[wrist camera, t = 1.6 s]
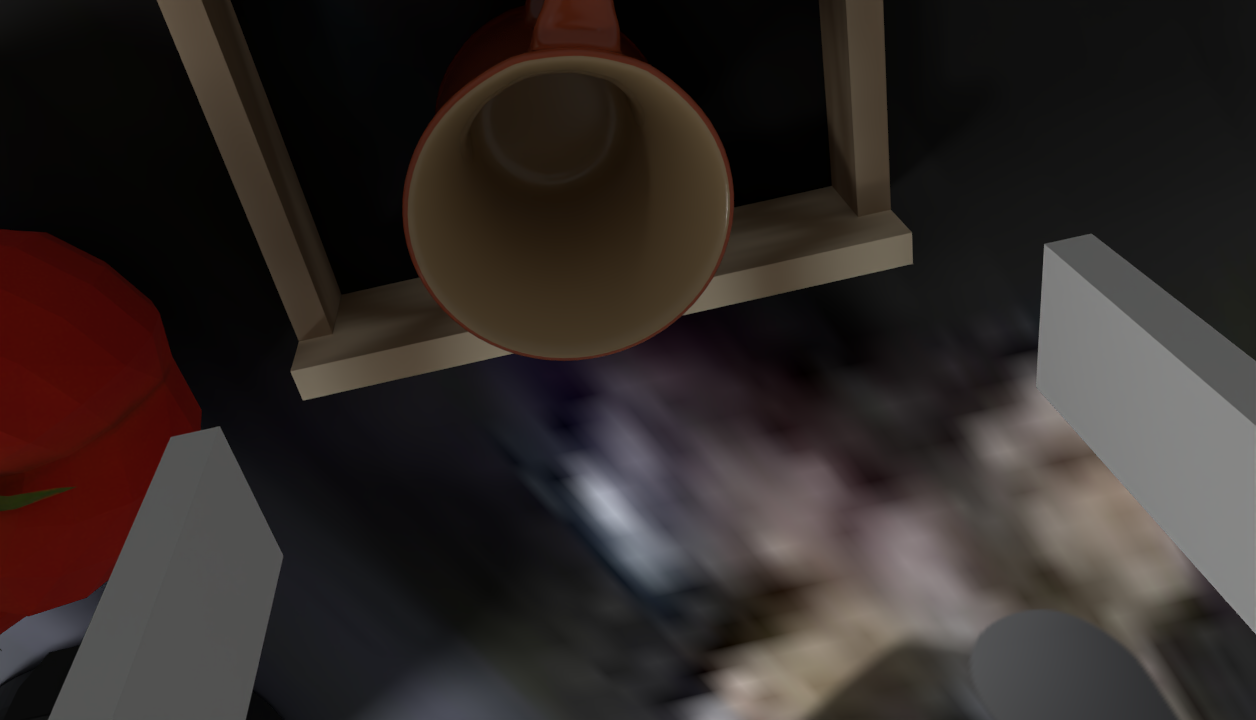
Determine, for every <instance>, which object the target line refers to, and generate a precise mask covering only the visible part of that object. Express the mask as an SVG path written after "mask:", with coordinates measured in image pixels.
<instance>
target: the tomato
mask: <svg viewBox="0 0 1256 720" xmlns="http://www.w3.org/2000/svg"><path fill="white" fill-rule="evenodd" d="M201 414H202V410H201V408H200V406H199V404H198V403H197V401H196V399H195V397H194V395H193V393H192V391H191V390H190V388H189V386H188V384H187V382H186V380H185V379H184V377H183V375H182V373H181V371H180V369H179V368H178V366H177V364H176V362H175V360H174V359H173V357H172V354H171V351H170V347H169V344H168V341H167V337H166V334H165V330H164V327H163V323H162V320H161V317H160V313H159V311H158V310H157V308H156V307H155V305H154V304H153V302H152V301H151V300H150V299H149V298H148V297H146V296H145V295H144V294H143V293H142V292H140V291H139V290H138V289H137V288H136V287H134V286H133V285H132V284H131V283H130V282H129V281H127V280H126V279H125V278H124V277H123V276H121V275H120V274H119V273H118V272H117V271H116V270H114V269H113V268H112V267H111V266H110V265H108V264H107V263H106V262H104V261H102V260H100V259H98V258H96V257H94V256H92V255H90V254H88V253H86V252H84V251H82V250H80V249H78V248H76V247H74V246H73V245H71V244H69V243H67V242H65V241H63V240H61V239H59V238H57V237H55V236H53V235H51V234H49V233H47V232H33V231H15V230H5V229H0V634H1V633H3V632H4V631H6V630H7V629H8V628H10V627H11V626H13V625H14V624H16V623H17V622H18V621H20V620H21V619H23V618H24V617H26V616H31V615H34V614H38V613H41V612H44V611H47V610H50V609H53V608H56V607H59V606H62V605H66V604H69V603H72V602H75V601H78V600H81V599H84V598H87V597H88V596H89V595H90V594H91V593H93V592H94V591H95V590H96V589H98V588H99V587H100V586H101V585H103V584H104V583H105V582H106V581H108V580H109V578H110V576H111V573H112V571H113V569H114V567H115V564H116V562H117V560H118V557H119V555H120V553H121V550H122V548H123V546H124V544H125V541H126V539H127V537H128V534H129V532H130V530H131V527H132V525H133V523H134V520H135V518H136V516H137V514H138V511H139V509H140V507H141V504H142V502H143V500H144V497H145V495H146V493H147V491H148V488H149V486H150V484H151V481H152V479H153V477H154V474H155V472H156V470H157V468H158V465H159V463H160V461H161V458H162V456H163V454H164V451H165V449H166V447H167V444H168V442H169V440H170V438H171V437H173V436H178V435H182V434H187V433H192V432H196V431H201ZM0 650H1V649H0ZM1 651H2V650H1Z"/></svg>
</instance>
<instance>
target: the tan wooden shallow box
mask: <svg viewBox="0 0 1256 720" xmlns="http://www.w3.org/2000/svg"><path fill="white" fill-rule="evenodd" d="M157 2H158V4H159V6H160V9H161V11H162V14H163V16H164V18H165V21H166V23H167V26H168V28H169V30H170V33H171V35H172V38H173V40H174V43H175V45H176V47H177V50H178V52H179V55H180V57H181V59H182V62H183V64H184V67H185V69H186V71H187V74H188V76H189V79H190V81H191V83H192V86H193V88H194V91H195V93H196V95H197V98H198V100H199V103H200V105H201V107H202V110H203V112H204V115H205V117H206V119H207V122H208V124H209V127H210V129H211V131H212V134H213V136H214V139H215V141H216V143H217V146H218V148H219V151H220V153H221V155H222V158H223V160H224V163H225V165H226V167H227V170H228V172H229V175H230V177H231V179H232V182H233V184H234V187H235V189H236V191H237V194H238V196H239V199H240V201H241V203H242V206H243V208H244V211H245V213H246V215H247V218H248V220H249V223H250V225H251V227H252V230H253V232H254V235H255V237H256V239H257V242H258V244H259V247H260V249H261V252H262V254H263V256H264V259H265V261H266V264H267V266H268V268H269V271H270V273H271V276H272V278H273V280H274V283H275V285H276V288H277V290H278V292H279V295H280V297H281V300H282V302H283V304H284V307H285V309H286V312H287V314H288V316H289V319H290V321H291V324H292V326H293V328H294V331H295V333H296V336H297V338H298V340H299V343H298V347H297V350H296V354H295V357H294V361H293V364H292V368H291V371H290V372H291V374H292V376H293V379H294V381H295V383H296V386H297V388H298V390H299V393H300V395H301V397H302V400H308V399H312V398H317V397H321V396H325V395H330V394H334V393H339V392H343V391H348V390H352V389H357V388H361V387H366V386H370V385H374V384H379V383H383V382H388V381H392V380H397V379H401V378H406V377H410V376H415V375H419V374H424V373H428V372H432V371H437V370H441V369H446V368H450V367H455V366H459V365H464V364H468V363H473V362H477V361H481V360H486V359H490V358H495V357H499V356H504V355H508V354H513V353H511V352H508V351H505V350H502V349H500V348H497V347H495V346H493V345H490V344H488V343H487V342H485V341H483V340H481V339H479V338H477V337H476V336H474V335H473V334H471V333H469V332H468V331H466V330H465V329H464V328H462V327H461V326H460V325H459V324H457V323H456V322H455V321H454V320H452V319H451V318H450V317H449V316H448V315H447V314H446V313H445V312H444V311H443V310H442V309H441V308H440V306H439V305H438V304H437V303H436V302H435V301H434V299H433V298H432V297H431V295H430V294H429V292H428V291H427V289H426V288H425V287H424V285H423V283H422V281H421V279H420V278H415V279H410V280H406V281H401V282H397V283H392V284H388V285H383V286H379V287H374V288H370V289H365V290H361V291H356V292H352V293H347V294H343V295H342V294H341V292H340V289H339V286H338V284H337V281H336V278H335V276H334V273H333V270H332V268H331V265H330V262H329V260H328V257H327V254H326V252H325V249H324V247H323V244H322V241H321V239H320V236H319V233H318V231H317V228H316V225H315V223H314V220H313V217H312V215H311V212H310V210H309V207H308V204H307V202H306V199H305V196H304V194H303V191H302V188H301V186H300V183H299V180H298V178H297V175H296V172H295V170H294V167H293V165H292V162H291V159H290V157H289V154H288V151H287V149H286V146H285V143H284V141H283V138H282V135H281V133H280V130H279V127H278V125H277V122H276V120H275V117H274V114H273V112H272V109H271V106H270V104H269V101H268V98H267V96H266V93H265V90H264V88H263V85H262V82H261V80H260V77H259V75H258V72H257V69H256V67H255V64H254V61H253V59H252V56H251V53H250V51H249V48H248V45H247V43H246V40H245V37H244V35H243V32H242V30H241V27H240V24H239V22H238V19H237V16H236V14H235V11H234V8H233V6H232V3H231V0H157ZM819 10H820V24H821V38H822V52H823V66H824V81H825V95H826V109H827V123H828V137H829V152H830V166H831V180H832V186H829V187H825V188H820V189H816V190H811V191H807V192H802V193H798V194H793V195H789V196H784V197H780V198H775V199H771V200H766V201H762V202H757V203H753V204H748V205H744V206H739V207H735V208H734V215H733V224H732V229H731V234H730V238H729V242H728V245H727V248H726V251H725V254H724V256H723V259H722V261H721V263H720V266H719V268H718V270H717V271H716V273H715V275H714V277H713V279H712V280H711V282H710V283H709V285H708V286H707V288H706V289H705V291H704V292H703V293H702V295H701V296H700V297H699V298H698V300H697V301H696V302H695V303H694V304H693V305H692V306H691V307H690V308H689V309H688V310H687V311H686V312H685V313H684V314H683V315H687V314H691V313H696V312H700V311H704V310H709V309H713V308H718V307H722V306H727V305H731V304H736V303H740V302H745V301H749V300H753V299H758V298H762V297H767V296H771V295H776V294H780V293H785V292H789V291H794V290H798V289H803V288H807V287H811V286H816V285H820V284H825V283H829V282H834V281H838V280H843V279H847V278H852V277H856V276H860V275H865V274H869V273H874V272H878V271H883V270H887V269H892V268H896V267H901V266H905V265H910V264H913V254H912V232H911V231H910V230H909V229H908V228H907V227H906V226H905V225H904V223H903V222H902V221H901V220H900V219H899V218H898V217H897V216H896V215H895V214H894V213H893V212H892V210H891V202H890V175H889V148H888V121H887V94H886V67H885V40H884V13H883V0H819Z"/></svg>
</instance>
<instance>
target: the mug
mask: <svg viewBox="0 0 1256 720" xmlns="http://www.w3.org/2000/svg"><path fill="white" fill-rule="evenodd" d="M733 215H734V188H733V179H732V173H731V169H730V164H729V161H728V158H727V155H726V151H725V148H724V146H723V144H722V142H721V140H720V137H719V135H718V133H717V131H716V130H715V128H714V126H713V125H712V123H711V121H710V120H709V118H708V117H707V116H706V114H705V113H704V112H703V110H702V109H701V108H700V106H699V105H698V104H697V103H696V102H695V101H694V100H693V99H692V98H691V97H690V96H689V95H688V94H687V93H686V92H685V91H684V90H683V89H682V88H681V87H680V86H679V85H677V84H676V83H675V82H674V81H673V80H671V79H670V78H669V77H668V76H666V75H665V74H663V73H662V72H661V71H659V70H658V69H656V68H655V67H653V66H651V65H650V64H649V63H648V62H647V60H646V58H645V57H644V55H643V54H642V53H641V51H640V50H639V49H638V48H637V46H636V45H635V44H634V43H633V42H632V41H631V40H630V39H629V38H628V37H627V36H626V35H625V34H624V33H623V32H621V31H620V27H619V23H618V19H617V16H616V12H615V7H614V0H525V6H520V7H516V8H513V9H509V10H507V11H505V12H503V13H502V14H500V15H498V16H496V17H495V18H493V19H492V20H490V21H489V22H487V23H486V24H485V25H483V26H482V27H481V28H479V29H478V30H477V31H476V32H475V33H474V34H472V35H471V37H470V38H469V39H468V40H467V41H466V42H465V43H464V44H463V46H462V47H461V48H460V49H459V51H458V52H457V54H456V55H455V56H454V58H453V60H452V61H451V63H450V65H449V66H448V68H447V70H446V72H445V74H444V77H443V79H442V82H441V85H440V88H439V92H438V96H437V101H436V108H435V116H434V117H433V118H432V120H431V121H430V123H429V124H428V126H427V127H426V129H425V131H424V132H423V134H422V135H421V137H420V140H419V142H418V144H417V146H416V148H415V150H414V152H413V155H412V158H411V160H410V163H409V166H408V170H407V174H406V178H405V183H404V190H403V198H402V218H403V229H404V234H405V239H406V244H407V247H408V251H409V254H410V257H411V260H412V262H413V265H414V267H415V269H416V272H417V274H418V276H419V278H420V279H421V281H422V283H423V285H424V287H425V288H426V289H427V291H428V292H429V294H430V295H431V297H432V298H433V299H434V301H435V302H436V303H437V304H438V305H439V306H440V308H441V309H442V310H443V311H444V312H445V313H446V314H447V315H448V316H449V317H450V318H451V319H452V320H454V321H455V322H456V323H457V324H459V325H460V326H461V327H462V328H464V329H465V330H466V331H468V332H469V333H471V334H473V335H474V336H476V337H477V338H479V339H481V340H483V341H485V342H487V343H488V344H490V345H493V346H495V347H497V348H500V349H502V350H505V351H508V352H511V353H514V354H517V355H521V356H526V357H531V358H536V359H544V360H557V361H571V360H584V359H592V358H597V357H602V356H607V355H610V354H614V353H617V352H620V351H623V350H626V349H628V348H631V347H634V346H636V345H638V344H640V343H642V342H644V341H646V340H648V339H650V338H652V337H653V336H655V335H657V334H658V333H660V332H662V331H663V330H664V329H666V328H667V327H669V326H670V325H671V324H673V323H674V322H675V321H676V320H677V319H679V318H680V317H681V316H682V315H683V314H684V313H685V312H686V311H687V310H688V309H689V308H690V307H691V306H692V305H693V304H694V303H695V302H696V301H697V300H698V298H699V297H700V296H701V295H702V293H703V292H704V291H705V289H706V288H707V286H708V285H709V283H710V282H711V280H712V279H713V277H714V275H715V273H716V271H717V270H718V268H719V266H720V263H721V261H722V259H723V256H724V254H725V251H726V248H727V245H728V242H729V238H730V234H731V229H732V224H733Z"/></svg>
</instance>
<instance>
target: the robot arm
mask: <svg viewBox="0 0 1256 720" xmlns="http://www.w3.org/2000/svg"><path fill="white" fill-rule="evenodd" d="M1036 388H1037V389H1038V390H1039V391H1040V392H1041V393H1042V394H1043V395H1044V397H1045V398H1046V399H1047V400H1048V401H1049V402H1050V403H1051V404H1052V406H1053V407H1054V408H1055V409H1056V410H1057V411H1058V412H1059V413H1060V415H1061V416H1062V417H1063V418H1064V419H1065V420H1066V421H1067V422H1068V424H1069V425H1070V426H1071V427H1072V428H1073V429H1074V430H1075V431H1076V433H1077V434H1078V435H1079V436H1080V437H1081V438H1082V439H1083V440H1084V442H1085V443H1086V444H1087V445H1088V446H1089V447H1090V448H1091V449H1092V450H1093V452H1094V453H1095V454H1096V455H1097V456H1098V457H1099V458H1100V459H1101V461H1102V462H1103V463H1104V464H1105V465H1106V466H1107V467H1108V468H1109V470H1110V471H1111V472H1112V473H1113V474H1114V475H1115V476H1116V477H1117V479H1118V480H1119V481H1120V482H1121V483H1122V484H1123V485H1124V486H1125V488H1126V489H1127V490H1128V491H1129V492H1130V493H1131V494H1132V495H1133V497H1134V498H1135V499H1136V500H1137V501H1138V502H1139V503H1140V504H1141V506H1142V507H1143V508H1144V509H1145V510H1146V511H1147V512H1148V513H1149V515H1150V516H1151V517H1152V518H1153V519H1154V520H1155V521H1156V522H1157V524H1158V525H1159V526H1160V527H1161V528H1162V529H1163V530H1164V531H1165V533H1166V534H1167V535H1168V536H1169V537H1170V538H1171V539H1172V540H1173V541H1174V543H1175V544H1176V545H1177V546H1178V547H1179V548H1180V549H1181V550H1182V552H1183V553H1184V554H1185V555H1186V556H1187V557H1188V558H1189V559H1190V561H1191V562H1192V563H1193V564H1194V565H1195V566H1196V567H1197V568H1198V570H1199V571H1200V572H1201V573H1202V574H1203V575H1204V576H1205V577H1206V579H1207V580H1208V581H1209V582H1210V583H1211V584H1212V585H1213V586H1214V588H1215V589H1216V590H1217V591H1218V592H1219V593H1220V594H1221V595H1222V597H1223V598H1224V599H1225V600H1226V601H1227V602H1228V603H1229V604H1230V606H1231V607H1232V608H1233V609H1234V610H1235V611H1236V612H1237V613H1238V615H1239V616H1240V617H1241V618H1242V619H1243V620H1244V621H1245V622H1246V624H1247V625H1248V626H1249V627H1250V628H1251V629H1252V630H1253V631H1254V633H1255V634H1256V361H1255V360H1253V359H1252V358H1251V357H1250V356H1248V355H1247V354H1246V353H1244V352H1243V351H1242V350H1241V349H1239V348H1238V347H1237V346H1235V345H1234V344H1233V343H1232V342H1230V341H1229V340H1228V339H1226V338H1225V337H1224V336H1223V335H1221V334H1220V333H1219V332H1217V331H1216V330H1215V329H1214V328H1212V327H1211V326H1210V325H1208V324H1207V323H1206V322H1205V321H1203V320H1202V319H1201V318H1199V317H1198V316H1197V315H1196V314H1194V313H1193V312H1192V311H1190V310H1189V309H1188V308H1187V307H1185V306H1184V305H1183V304H1181V303H1180V302H1179V301H1178V300H1176V299H1175V298H1174V297H1172V296H1171V295H1170V294H1169V293H1167V292H1166V291H1165V290H1163V289H1162V288H1161V287H1159V286H1158V285H1157V284H1156V283H1154V282H1153V281H1152V280H1150V279H1149V278H1148V277H1147V276H1145V275H1144V274H1143V273H1141V272H1140V271H1139V270H1138V269H1136V268H1135V267H1134V266H1132V265H1131V264H1130V263H1129V262H1127V261H1126V260H1125V259H1123V258H1122V257H1121V256H1120V255H1118V254H1117V253H1116V252H1114V251H1113V250H1112V249H1111V248H1109V247H1108V246H1107V245H1105V244H1104V243H1103V242H1102V241H1100V240H1099V239H1098V238H1096V237H1095V236H1094V235H1093V234H1088V235H1083V236H1078V237H1074V238H1069V239H1065V240H1060V241H1056V242H1051V243H1047V244H1044V259H1043V276H1042V293H1041V310H1040V328H1039V345H1038V362H1037V380H1036ZM282 560H283V554H282V552H281V550H280V548H279V546H278V544H277V542H276V540H275V538H274V536H273V534H272V532H271V530H270V528H269V526H268V524H267V521H266V519H265V517H264V515H263V513H262V511H261V509H260V507H259V505H258V503H257V501H256V499H255V497H254V495H253V493H252V491H251V489H250V487H249V485H248V483H247V481H246V479H245V477H244V475H243V472H242V470H241V468H240V466H239V464H238V462H237V460H236V458H235V456H234V454H233V452H232V450H231V448H230V446H229V444H228V442H227V440H226V438H225V436H224V434H223V432H222V430H221V428H220V426H219V427H214V428H210V429H205V430H201V431H196V432H192V433H187V434H182V435H178V436H173V437H171V438H170V440H169V442H168V444H167V447H166V449H165V451H164V454H163V456H162V458H161V461H160V463H159V465H158V468H157V470H156V472H155V474H154V477H153V479H152V481H151V484H150V486H149V488H148V491H147V493H146V495H145V497H144V500H143V502H142V504H141V507H140V509H139V511H138V514H137V516H136V518H135V520H134V523H133V525H132V527H131V530H130V532H129V534H128V537H127V539H126V541H125V544H124V546H123V548H122V550H121V553H120V555H119V557H118V560H117V562H116V564H115V567H114V569H113V571H112V573H111V576H110V578H109V580H108V583H107V585H106V587H105V590H104V592H103V594H102V597H101V599H100V601H99V603H98V606H97V608H96V610H95V613H94V615H93V617H92V620H91V622H90V624H89V626H88V629H87V631H86V633H85V636H84V638H83V640H82V643H81V645H80V646H76V647H72V648H68V649H63V650H59V651H54V652H50V653H49V654H48V655H47V656H46V657H45V658H44V659H43V661H42V662H41V663H40V664H39V665H38V666H37V667H36V668H35V669H34V670H32V671H29V672H27V673H25V674H23V675H20V676H18V677H16V678H14V679H13V680H11V681H9V682H7V683H6V684H4V685H3V686H1V687H0V720H282V719H281V718H280V716H279V715H278V714H277V713H276V712H275V711H274V710H273V708H272V707H271V706H269V705H268V704H267V703H266V702H265V701H264V700H263V699H261V698H260V697H259V696H258V695H256V694H255V693H253V692H252V690H253V686H254V682H255V677H256V673H257V669H258V664H259V660H260V656H261V651H262V647H263V642H264V638H265V634H266V629H267V625H268V621H269V616H270V612H271V608H272V603H273V599H274V595H275V590H276V586H277V582H278V577H279V573H280V569H281V564H282Z"/></svg>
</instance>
